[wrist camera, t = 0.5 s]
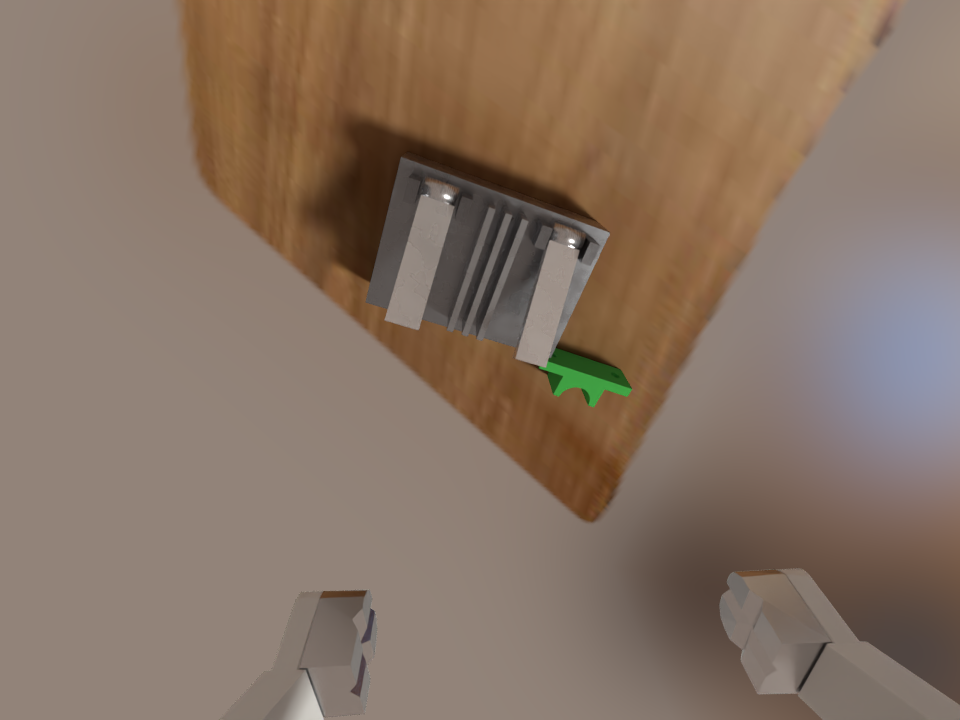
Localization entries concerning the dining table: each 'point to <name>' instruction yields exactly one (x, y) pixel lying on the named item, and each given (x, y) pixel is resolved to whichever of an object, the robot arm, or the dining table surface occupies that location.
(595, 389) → the pipe clamp
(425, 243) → the strap near
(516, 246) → the heatsink block
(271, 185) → the dining table surface
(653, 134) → the dining table surface
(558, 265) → the strap far
